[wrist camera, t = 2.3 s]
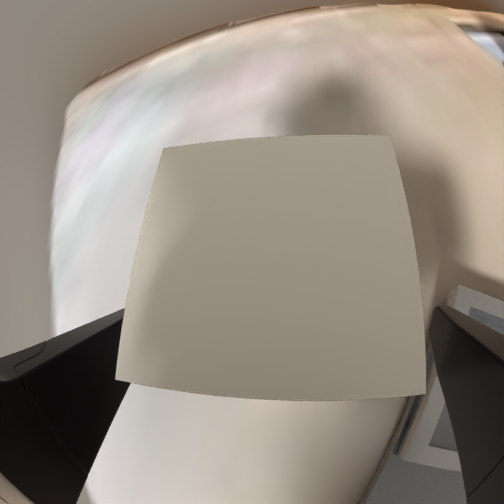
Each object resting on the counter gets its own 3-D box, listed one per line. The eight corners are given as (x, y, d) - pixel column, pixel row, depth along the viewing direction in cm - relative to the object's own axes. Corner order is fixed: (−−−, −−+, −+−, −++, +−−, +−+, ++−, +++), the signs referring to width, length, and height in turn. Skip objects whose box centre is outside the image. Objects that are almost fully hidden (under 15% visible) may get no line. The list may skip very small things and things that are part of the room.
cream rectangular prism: (341, 390, 15) (426, 393, 4) (250, 389, 16) (115, 379, 5) (341, 300, 17) (388, 130, 6) (256, 301, 18) (165, 143, 7)
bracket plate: (477, 562, 7) (492, 574, 5) (328, 549, 11) (329, 568, 9) (562, 342, 13) (583, 334, 10) (439, 296, 16) (455, 282, 14)
